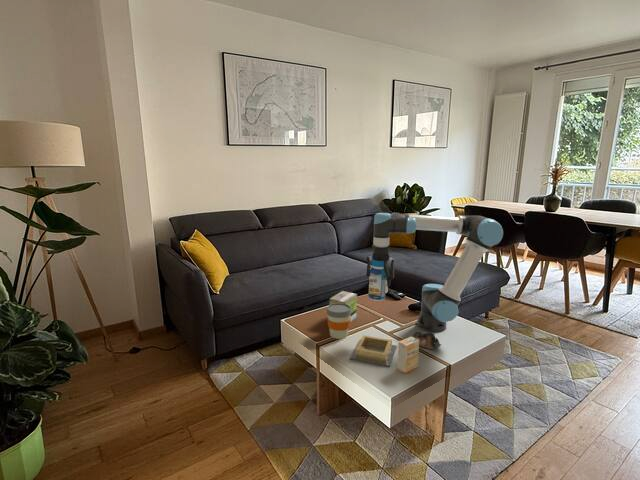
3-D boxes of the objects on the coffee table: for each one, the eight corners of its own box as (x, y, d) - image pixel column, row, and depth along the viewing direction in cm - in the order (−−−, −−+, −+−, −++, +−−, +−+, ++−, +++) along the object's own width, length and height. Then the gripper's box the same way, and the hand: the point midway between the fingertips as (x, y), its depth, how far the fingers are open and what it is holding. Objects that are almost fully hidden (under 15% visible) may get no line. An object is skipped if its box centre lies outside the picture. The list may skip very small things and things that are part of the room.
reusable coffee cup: (325, 339, 179) (325, 312, 176) (328, 328, 191) (328, 302, 188) (350, 341, 177) (350, 313, 174) (351, 329, 189) (352, 303, 186)
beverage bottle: (388, 300, 173) (390, 261, 169) (371, 302, 171) (374, 262, 167) (380, 294, 181) (383, 256, 177) (365, 295, 179) (367, 257, 175)
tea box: (344, 327, 192) (344, 302, 189) (328, 323, 197) (328, 298, 194) (357, 317, 204) (357, 293, 201) (341, 313, 209) (341, 290, 206)
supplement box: (405, 374, 149) (406, 345, 147) (396, 369, 153) (397, 341, 150) (418, 367, 154) (419, 339, 151) (409, 362, 158) (410, 335, 155)
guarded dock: (396, 347, 171) (396, 338, 170) (390, 367, 154) (390, 357, 153) (360, 341, 177) (360, 332, 176) (349, 359, 161) (350, 350, 160)
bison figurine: (410, 342, 177) (415, 351, 167) (411, 328, 175) (415, 337, 166) (435, 342, 176) (441, 352, 166) (435, 329, 175) (441, 338, 165)
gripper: (402, 245, 170) (400, 291, 175) (364, 242, 177) (363, 286, 182) (399, 248, 163) (397, 296, 168) (359, 245, 170) (358, 291, 175)
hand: (379, 291), depth 175 cm, fingers closed on beverage bottle, 6 cm apart
